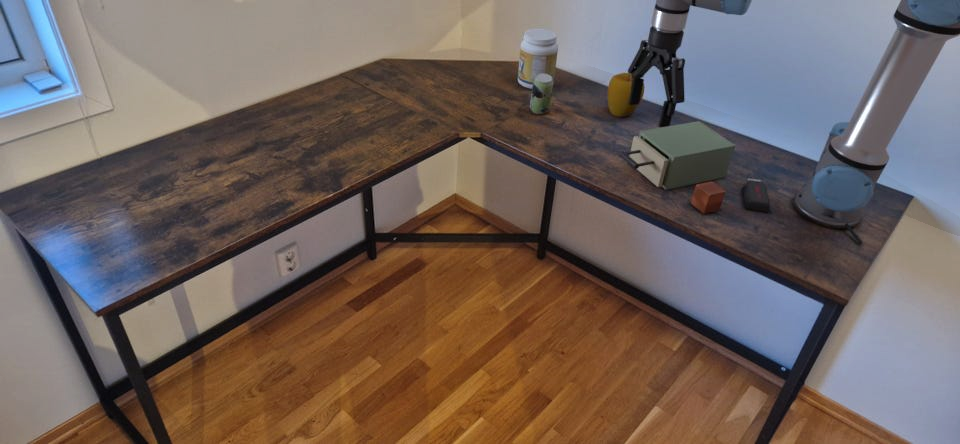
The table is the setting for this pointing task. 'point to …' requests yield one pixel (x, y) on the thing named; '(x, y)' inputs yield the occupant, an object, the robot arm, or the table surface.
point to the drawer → (648, 160)
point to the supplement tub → (537, 55)
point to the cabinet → (691, 153)
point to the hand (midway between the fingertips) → (648, 114)
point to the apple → (621, 95)
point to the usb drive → (756, 195)
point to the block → (708, 197)
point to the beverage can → (541, 93)
